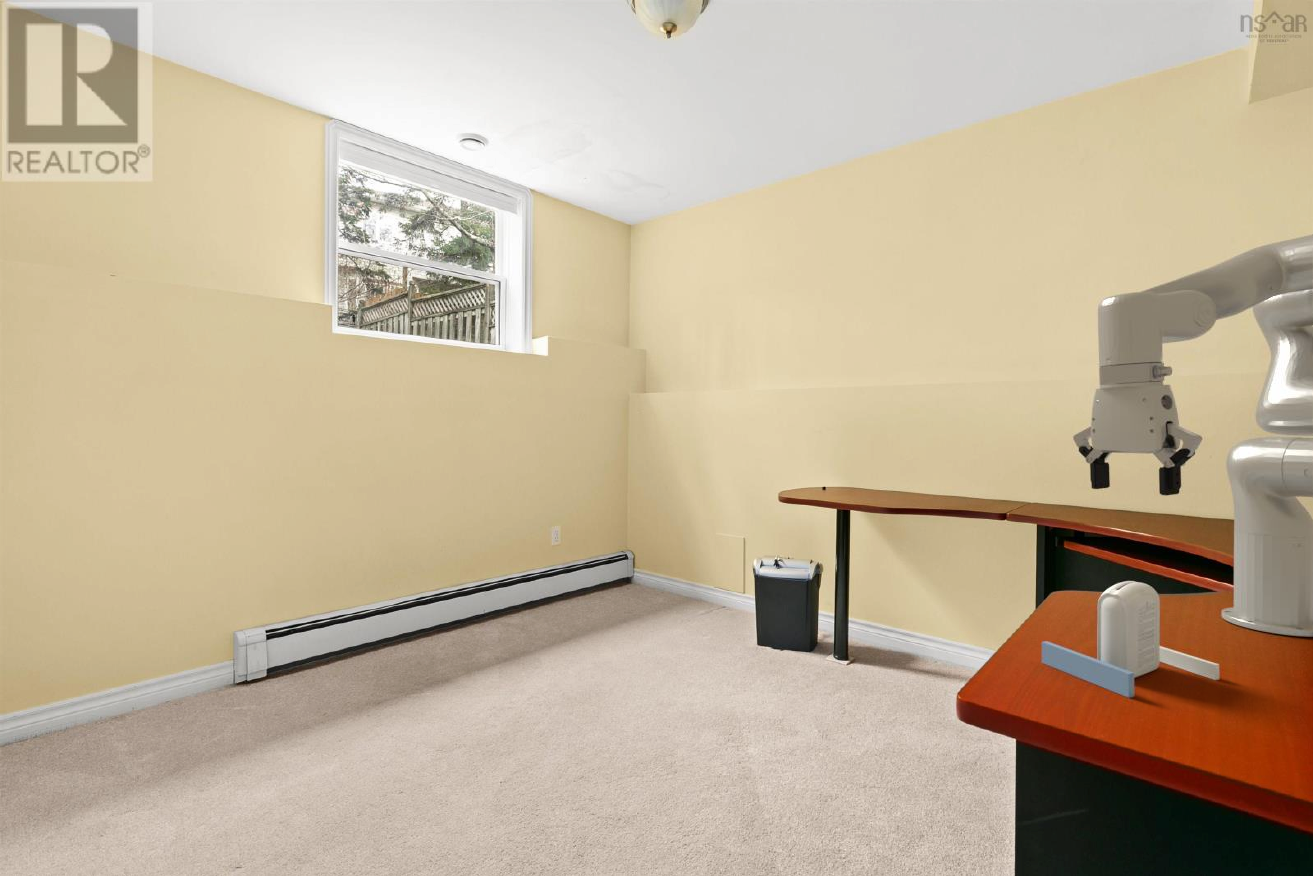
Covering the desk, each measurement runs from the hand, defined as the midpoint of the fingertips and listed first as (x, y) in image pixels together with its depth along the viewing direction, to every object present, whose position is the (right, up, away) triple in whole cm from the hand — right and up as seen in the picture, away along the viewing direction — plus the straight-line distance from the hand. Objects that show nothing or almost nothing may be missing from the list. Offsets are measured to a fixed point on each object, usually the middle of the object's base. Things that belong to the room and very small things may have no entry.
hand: (1133, 491), depth 91 cm
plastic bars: (-6, -24, -7) cm, 26 cm away
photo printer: (-6, -25, -7) cm, 26 cm away
